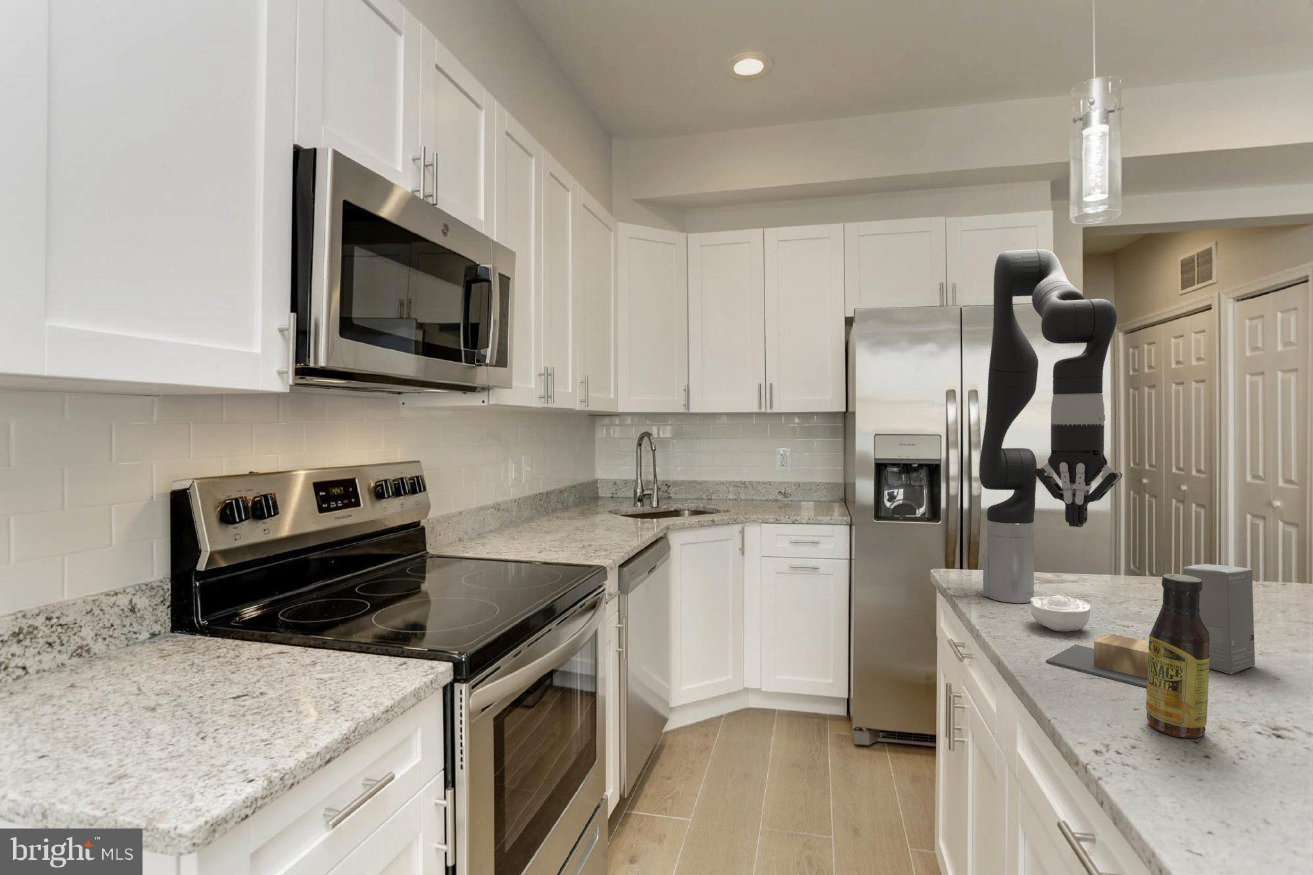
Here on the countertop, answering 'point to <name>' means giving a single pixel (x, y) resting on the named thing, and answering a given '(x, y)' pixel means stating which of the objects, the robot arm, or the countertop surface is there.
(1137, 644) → the block
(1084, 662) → the mat
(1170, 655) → the sauce bottle
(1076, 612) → the cell model
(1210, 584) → the skincare box
